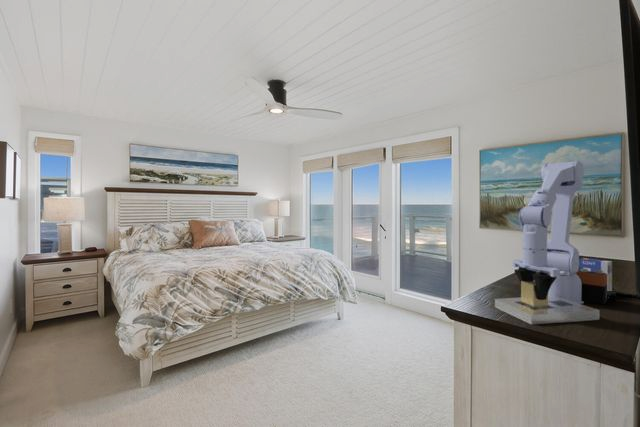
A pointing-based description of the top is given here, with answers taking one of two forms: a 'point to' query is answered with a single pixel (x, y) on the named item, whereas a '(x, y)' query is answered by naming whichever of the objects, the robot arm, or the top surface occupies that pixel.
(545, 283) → the robot arm
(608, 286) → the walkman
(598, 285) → the battery
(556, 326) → the top surface
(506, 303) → the rail plate
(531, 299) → the tan rectangular block
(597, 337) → the top surface
